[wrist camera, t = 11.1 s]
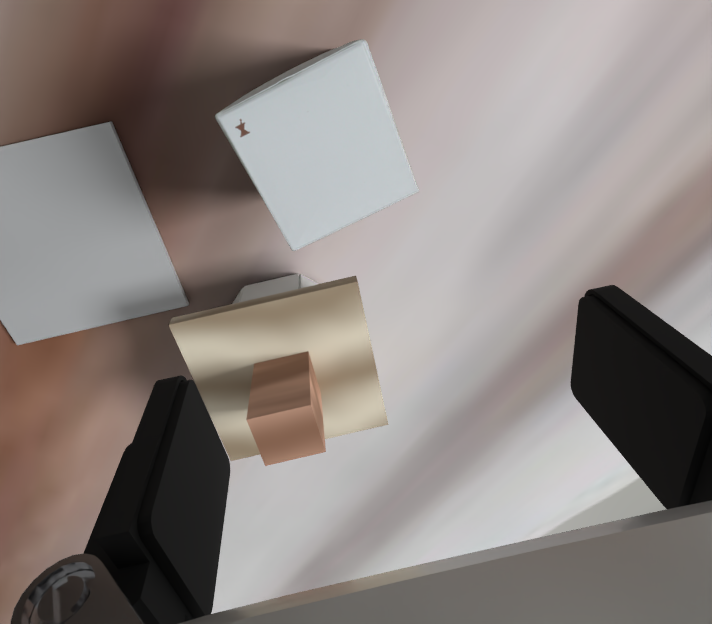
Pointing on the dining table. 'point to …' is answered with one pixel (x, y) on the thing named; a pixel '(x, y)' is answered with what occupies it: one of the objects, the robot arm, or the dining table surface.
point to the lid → (284, 370)
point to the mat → (77, 238)
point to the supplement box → (321, 144)
